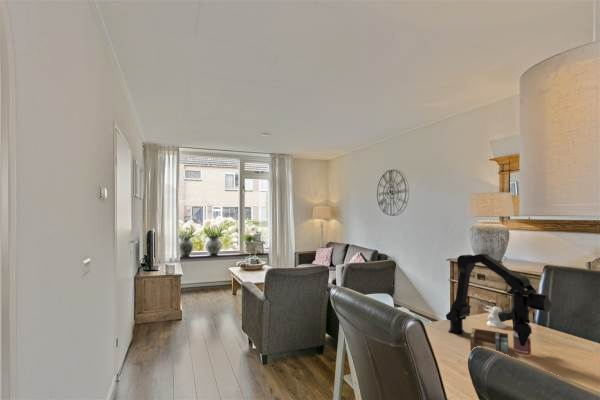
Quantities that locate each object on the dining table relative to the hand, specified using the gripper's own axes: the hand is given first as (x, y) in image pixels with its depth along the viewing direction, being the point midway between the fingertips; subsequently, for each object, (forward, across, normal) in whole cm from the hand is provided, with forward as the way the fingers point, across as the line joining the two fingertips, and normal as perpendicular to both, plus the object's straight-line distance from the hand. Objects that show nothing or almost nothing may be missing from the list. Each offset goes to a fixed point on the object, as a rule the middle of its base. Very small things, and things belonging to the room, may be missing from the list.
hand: (521, 343), depth 139 cm
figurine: (+5, -37, -10) cm, 39 cm away
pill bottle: (+5, 0, 0) cm, 5 cm away
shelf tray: (+4, 0, -12) cm, 13 cm away
